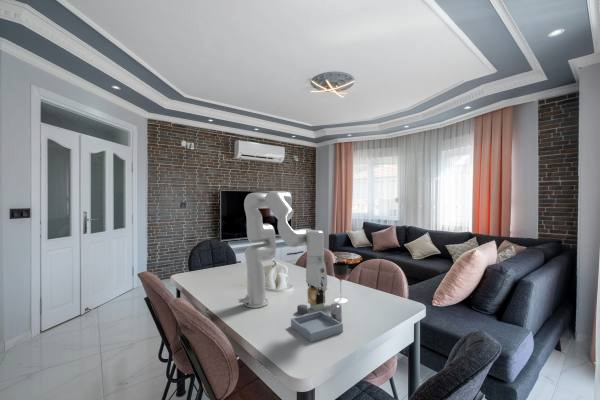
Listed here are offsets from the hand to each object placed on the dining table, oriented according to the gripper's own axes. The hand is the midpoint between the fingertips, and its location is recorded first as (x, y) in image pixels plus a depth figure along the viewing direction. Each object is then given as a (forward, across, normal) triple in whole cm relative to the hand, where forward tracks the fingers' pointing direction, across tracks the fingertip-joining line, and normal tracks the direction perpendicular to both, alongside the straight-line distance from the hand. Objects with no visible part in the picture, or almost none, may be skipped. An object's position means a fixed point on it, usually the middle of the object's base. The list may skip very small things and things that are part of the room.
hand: (316, 301), depth 116 cm
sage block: (+12, +19, -13) cm, 26 cm away
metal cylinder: (+12, +2, -12) cm, 17 cm away
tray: (+12, 0, 0) cm, 12 cm away
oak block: (+1, 0, 0) cm, 1 cm away
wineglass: (+12, +20, -30) cm, 38 cm away
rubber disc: (+12, +18, -4) cm, 22 cm away
